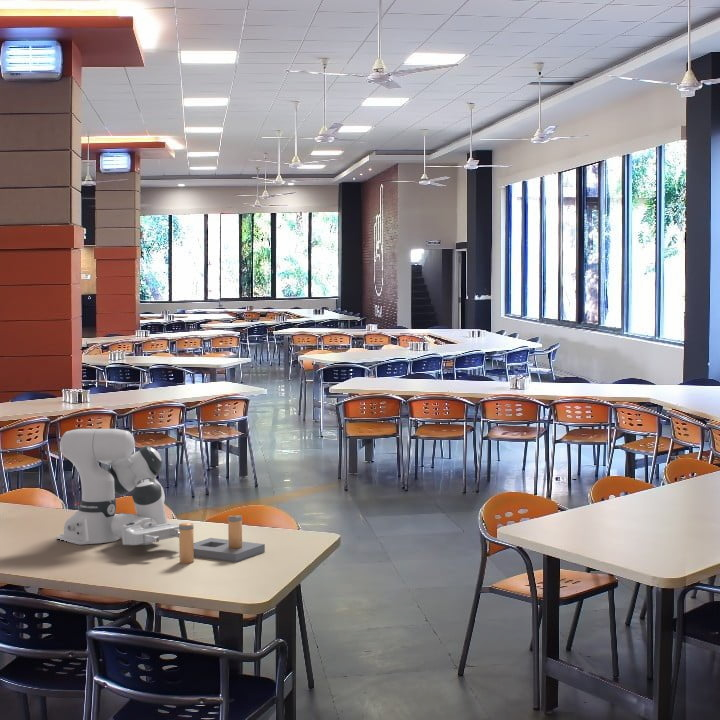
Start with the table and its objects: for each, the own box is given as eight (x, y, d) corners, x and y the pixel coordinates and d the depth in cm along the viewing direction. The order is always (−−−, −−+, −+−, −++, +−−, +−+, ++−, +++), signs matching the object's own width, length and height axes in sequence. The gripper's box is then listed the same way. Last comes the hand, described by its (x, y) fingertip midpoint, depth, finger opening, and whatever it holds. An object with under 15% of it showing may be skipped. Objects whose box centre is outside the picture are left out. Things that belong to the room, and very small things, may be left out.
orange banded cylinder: (176, 562, 313) (176, 524, 313) (185, 559, 317) (185, 522, 317) (187, 564, 311) (187, 526, 310) (196, 561, 315) (196, 523, 314)
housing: (180, 554, 324) (180, 516, 323) (210, 545, 338) (210, 508, 337) (236, 561, 313) (235, 522, 313) (264, 551, 327) (264, 513, 327)
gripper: (170, 535, 339) (195, 541, 329) (118, 545, 324) (143, 552, 314) (170, 516, 338) (195, 522, 329) (118, 526, 324) (142, 532, 314)
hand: (169, 537), depth 321 cm, fingers open, 8 cm apart
